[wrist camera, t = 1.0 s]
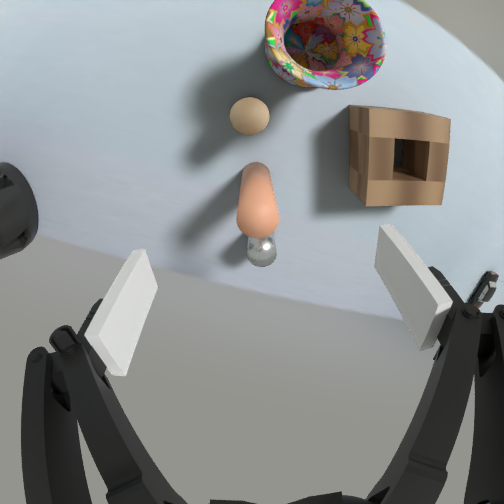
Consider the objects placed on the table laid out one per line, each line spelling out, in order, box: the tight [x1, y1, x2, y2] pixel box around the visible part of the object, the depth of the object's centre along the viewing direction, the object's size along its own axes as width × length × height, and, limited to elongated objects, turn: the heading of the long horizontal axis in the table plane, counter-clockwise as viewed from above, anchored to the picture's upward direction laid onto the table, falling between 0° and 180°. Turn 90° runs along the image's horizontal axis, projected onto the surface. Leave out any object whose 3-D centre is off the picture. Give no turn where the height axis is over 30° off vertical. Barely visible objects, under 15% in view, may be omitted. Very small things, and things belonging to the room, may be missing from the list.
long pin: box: [237, 162, 279, 238], centre depth 27 cm, size 3×3×12 cm
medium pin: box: [230, 97, 269, 135], centre depth 24 cm, size 3×3×8 cm
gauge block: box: [349, 105, 451, 206], centre depth 27 cm, size 10×10×6 cm
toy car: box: [469, 271, 504, 308], centre depth 37 cm, size 4×12×8 cm, turn 170°
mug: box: [265, 0, 386, 90], centre depth 19 cm, size 12×9×11 cm
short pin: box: [247, 232, 276, 267], centre depth 34 cm, size 3×3×5 cm
